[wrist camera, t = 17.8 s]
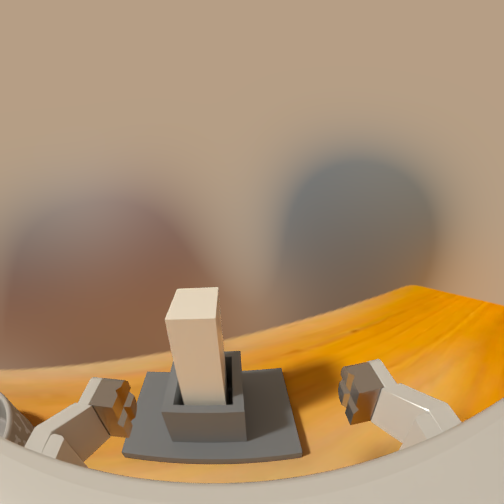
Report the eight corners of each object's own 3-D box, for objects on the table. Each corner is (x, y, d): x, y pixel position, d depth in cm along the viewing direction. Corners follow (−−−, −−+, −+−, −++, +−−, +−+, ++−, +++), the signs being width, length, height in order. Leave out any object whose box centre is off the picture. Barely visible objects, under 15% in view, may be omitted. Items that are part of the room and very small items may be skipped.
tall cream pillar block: (228, 392, 31) (218, 287, 27) (229, 429, 26) (215, 318, 21) (195, 393, 31) (177, 288, 27) (191, 430, 25) (164, 319, 21)
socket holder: (280, 373, 36) (282, 337, 34) (301, 457, 22) (307, 423, 21) (149, 377, 35) (138, 341, 33) (124, 457, 21) (104, 422, 20)
